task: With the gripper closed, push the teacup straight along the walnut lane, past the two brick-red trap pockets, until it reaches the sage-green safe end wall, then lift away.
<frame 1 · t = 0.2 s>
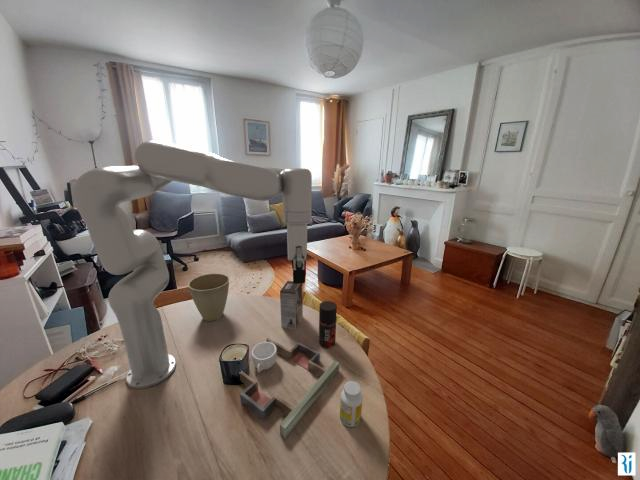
hand: (298, 275, 73), 31 cm above the table, tool pointing down, fingers open, 9 cm apart
plant pot: (213, 316, 105), on the table
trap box: (280, 377, 76), on the table
supplement bottle: (350, 417, 65), on the table
teacup: (264, 367, 80), on the table
deodorant: (327, 342, 91), on the table
coffee box: (292, 322, 102), on the table
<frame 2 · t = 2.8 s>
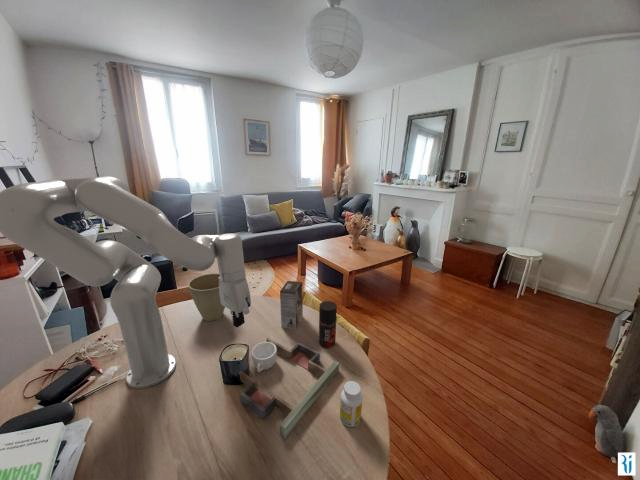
hand: (239, 324, 84), 10 cm above the table, tool pointing down, fingers closed
nothing on the table moved.
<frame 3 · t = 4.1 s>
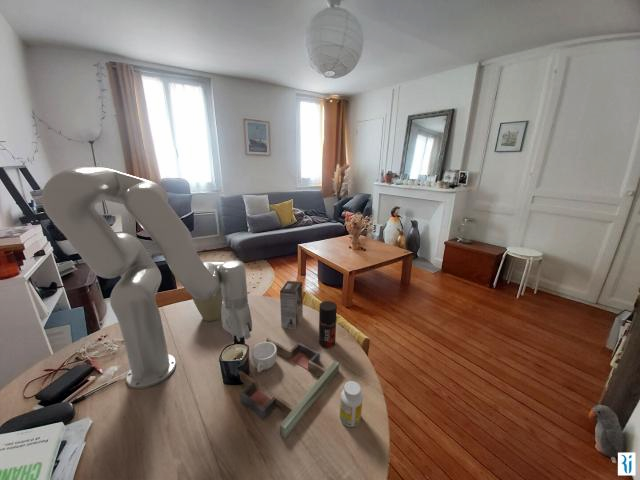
hand: (239, 347, 86), 2 cm above the table, tool pointing down, fingers closed
nothing on the table moved.
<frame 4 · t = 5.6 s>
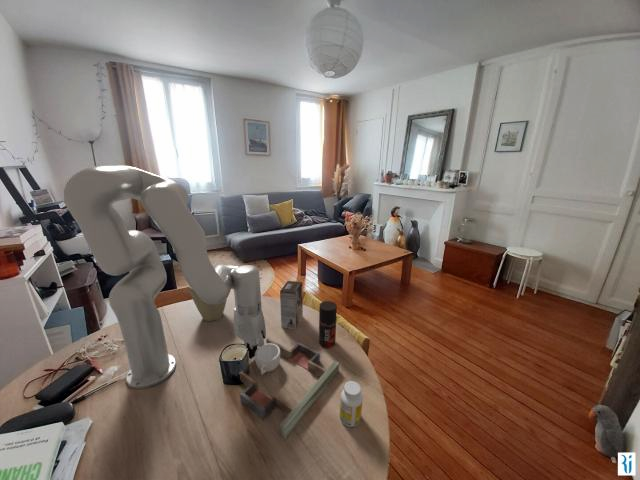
hand: (252, 355, 82), 2 cm above the table, tool pointing down, fingers closed
teacup: (267, 369, 79), on the table, touching gripper
everything else where it was.
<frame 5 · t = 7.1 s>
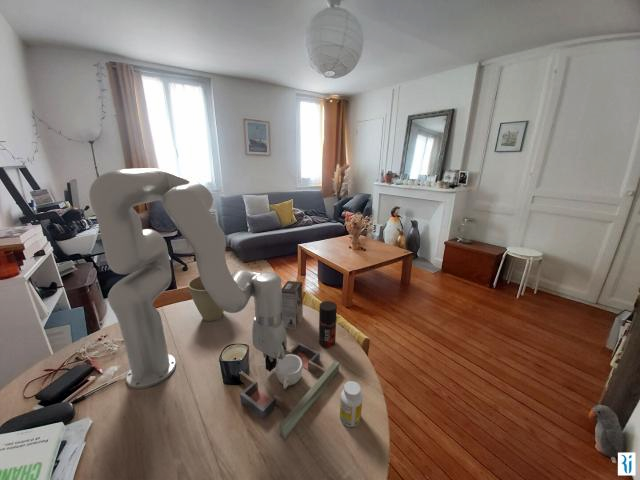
hand: (271, 367, 78), 2 cm above the table, tool pointing down, fingers closed
teacup: (288, 382, 75), on the table, touching gripper
everything else where it was.
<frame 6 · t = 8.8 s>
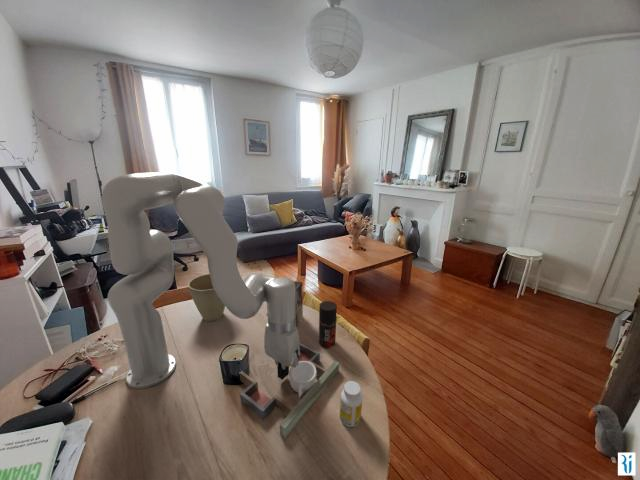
hand: (283, 375, 75), 1 cm above the table, tool pointing down, fingers closed
teacup: (302, 390, 72), on the table, touching gripper
everything else where it was.
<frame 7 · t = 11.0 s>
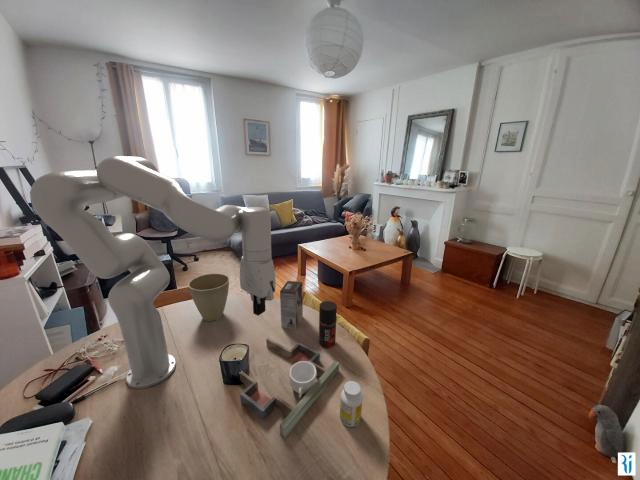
hand: (259, 312, 74), 20 cm above the table, tool pointing down, fingers closed
teacup: (302, 390, 72), on the table
everything else where it was.
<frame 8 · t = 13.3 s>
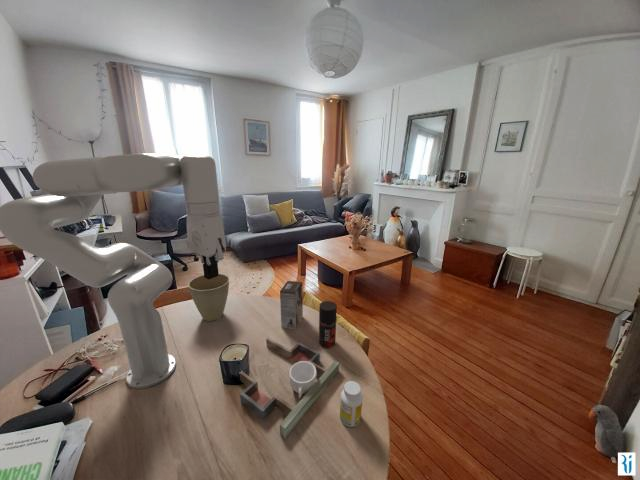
hand: (211, 276, 68), 32 cm above the table, tool pointing down, fingers closed
nothing on the table moved.
at the end: teacup inside the target area (0.4 cm from its centre), on the table; teacup tilted 0°; teacup moved 15.1 cm from its start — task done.
